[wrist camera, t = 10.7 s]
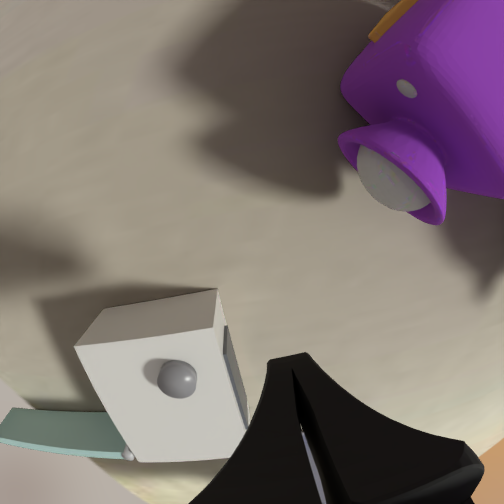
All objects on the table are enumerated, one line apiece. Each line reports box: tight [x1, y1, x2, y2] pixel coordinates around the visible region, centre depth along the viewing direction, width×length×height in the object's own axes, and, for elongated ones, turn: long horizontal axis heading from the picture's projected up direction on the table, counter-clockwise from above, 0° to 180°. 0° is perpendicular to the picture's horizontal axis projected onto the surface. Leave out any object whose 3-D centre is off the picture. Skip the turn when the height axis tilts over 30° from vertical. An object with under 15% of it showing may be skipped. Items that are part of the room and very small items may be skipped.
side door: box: [0, 408, 135, 461], centre depth 20 cm, size 15×1×5 cm, turn 100°
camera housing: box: [74, 289, 250, 462], centre depth 19 cm, size 11×8×6 cm
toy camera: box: [338, 0, 504, 225], centre depth 13 cm, size 11×14×10 cm
